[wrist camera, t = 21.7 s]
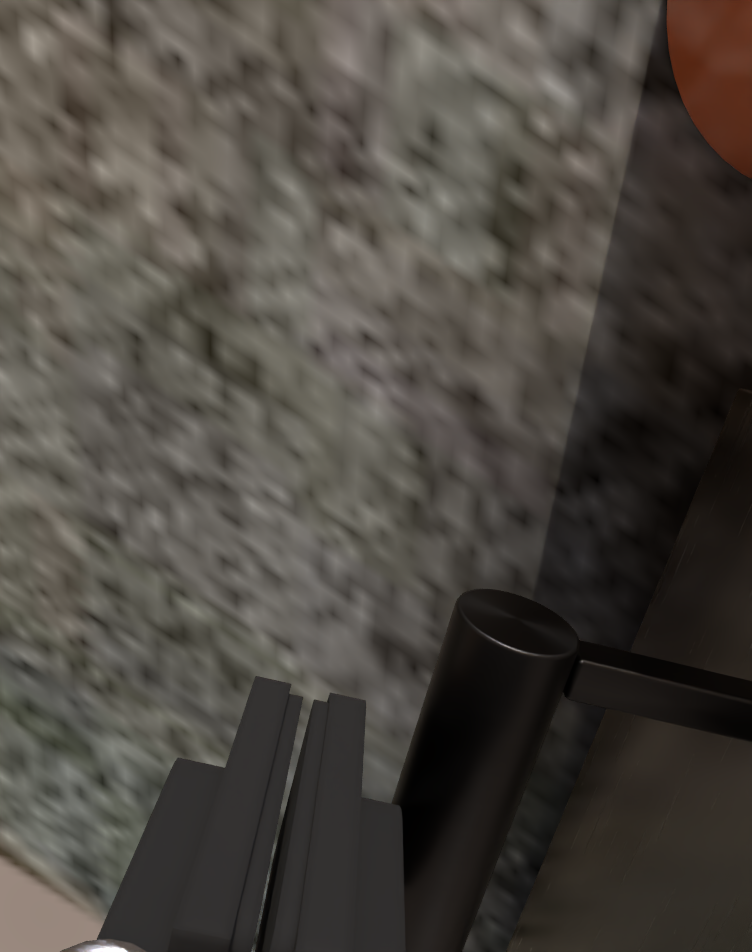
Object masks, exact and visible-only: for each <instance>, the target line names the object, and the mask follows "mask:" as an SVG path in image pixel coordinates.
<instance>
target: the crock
mask: <svg viewBox="0 0 752 952" xmlns="http://www.w3.org/2000/svg"><path fill="white" fill-rule="evenodd" d="M667 34H668V47H669V54H670V59H671V64H672V69H673V73H674V78H675V81H676V83H677V86H678V89H679V92H680V95H681V98H682V101H683V103H684V105H685V107H686V109H687V111H688V113H689V115H690V117H691V119H692V121H693V123H694V124H695V126H696V127H697V128H698V130H699V131H700V133H701V134H702V136H703V137H704V138H705V140H706V141H707V143H708V144H709V145H710V146H711V147H712V148H713V149H714V150H715V151H716V152H717V153H718V154H719V155H720V156H721V157H722V158H723V159H724V160H725V161H726V162H727V163H729V164H730V165H731V166H733V167H734V168H735V169H736V170H738V171H739V172H740V173H742V174H743V175H745V176H747V177H749V178H751V179H752V0H667Z"/></svg>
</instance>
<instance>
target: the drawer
mask: <svg viewBox="0 0 752 952" xmlns="http://www.w3.org/2000/svg"><path fill="white" fill-rule="evenodd" d="M562 692H563V694H564V696H565V697H566V698H567V699H569V700H573V701H577V702H581V703H585V704H590V705H594V706H598V707H603V708H606V711H605V713H604V716H603V718H602V721H601V723H600V725H599V728H598V730H597V733H596V735H595V737H594V740H593V742H592V745H591V747H590V750H589V752H588V754H587V757H586V759H585V762H584V764H583V767H582V769H581V771H580V774H579V776H578V779H577V781H576V783H575V786H574V788H573V791H572V793H571V796H570V798H569V800H568V803H567V805H566V808H565V810H564V812H563V815H562V817H561V820H560V822H559V825H558V827H557V829H556V832H555V834H554V837H553V839H552V842H551V844H550V846H549V849H548V851H547V854H546V856H545V858H544V861H543V863H542V866H541V868H540V871H539V873H538V875H537V878H536V880H535V883H534V885H533V887H532V890H531V892H530V895H529V897H528V900H527V902H526V904H525V907H524V909H523V912H522V914H521V917H520V919H519V921H518V924H517V926H516V929H515V931H514V933H513V936H512V938H511V941H510V943H509V946H508V948H507V950H506V952H752V391H751V390H747V389H743V388H742V389H739V390H738V392H737V394H736V396H735V399H734V401H733V404H732V406H731V408H730V411H729V413H728V416H727V418H726V421H725V423H724V425H723V428H722V430H721V433H720V435H719V438H718V440H717V442H716V445H715V447H714V450H713V452H712V454H711V457H710V459H709V462H708V464H707V467H706V469H705V471H704V474H703V476H702V479H701V481H700V483H699V486H698V488H697V491H696V493H695V496H694V498H693V500H692V503H691V505H690V508H689V510H688V513H687V515H686V517H685V520H684V522H683V525H682V527H681V529H680V532H679V534H678V537H677V539H676V542H675V544H674V546H673V549H672V551H671V554H670V556H669V558H668V561H667V563H666V566H665V568H664V571H663V573H662V575H661V578H660V580H659V583H658V585H657V587H656V590H655V592H654V595H653V597H652V600H651V602H650V604H649V607H648V609H647V612H646V614H645V617H644V619H643V621H642V624H641V626H640V629H639V631H638V633H637V636H636V638H635V641H634V643H633V646H632V648H631V650H630V652H628V651H624V650H619V649H615V648H611V647H607V646H603V645H599V644H594V643H590V642H586V641H582V640H579V638H578V636H577V634H576V632H575V630H574V629H573V628H572V627H571V626H570V625H569V624H568V623H567V622H566V621H565V620H564V619H563V618H562V617H560V616H559V615H557V614H556V613H555V612H553V611H551V610H550V609H548V608H546V607H545V606H543V605H541V604H539V603H537V602H534V601H532V600H530V599H527V598H525V597H522V596H519V595H516V594H512V593H509V592H504V591H499V590H492V589H475V590H470V591H467V592H465V593H463V594H462V595H461V596H460V597H459V598H458V599H457V601H456V603H455V606H454V610H453V613H452V616H451V619H450V622H449V625H448V628H447V632H446V635H445V638H444V641H443V644H442V647H441V650H440V653H439V657H438V660H437V663H436V666H435V669H434V672H433V675H432V678H431V682H430V685H429V688H428V691H427V694H426V697H425V700H424V703H423V707H422V710H421V713H420V716H419V719H418V722H417V725H416V728H415V732H414V735H413V738H412V741H411V744H410V747H409V750H408V753H407V757H406V760H405V763H404V766H403V769H402V772H401V775H400V778H399V782H398V785H397V788H396V791H395V794H394V797H393V800H392V804H394V805H399V806H400V808H401V810H402V826H403V866H404V907H405V948H406V952H462V950H463V947H464V945H465V942H466V940H467V937H468V935H469V932H470V929H471V927H472V924H473V922H474V919H475V917H476V914H477V911H478V909H479V906H480V904H481V901H482V898H483V896H484V893H485V891H486V888H487V886H488V883H489V880H490V878H491V875H492V873H493V870H494V868H495V865H496V862H497V860H498V857H499V855H500V852H501V850H502V847H503V844H504V842H505V839H506V837H507V834H508V831H509V829H510V826H511V824H512V821H513V819H514V816H515V813H516V811H517V808H518V806H519V803H520V801H521V798H522V795H523V793H524V790H525V788H526V785H527V782H528V780H529V777H530V775H531V772H532V770H533V767H534V764H535V762H536V759H537V757H538V754H539V752H540V749H541V746H542V744H543V741H544V739H545V736H546V733H547V731H548V728H549V726H550V723H551V721H552V718H553V715H554V713H555V710H556V708H557V705H558V703H559V700H560V697H561V695H562Z"/></svg>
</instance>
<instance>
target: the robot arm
mask: <svg viewBox="0 0 752 952" xmlns="http://www.w3.org/2000/svg"><path fill="white" fill-rule="evenodd" d="M290 687H291V684H289V683H285V682H280V681H276V680H272V679H267V678H263V677H258V676H256V677H255V680H254V682H253V685H252V689H251V692H250V695H249V698H248V701H247V704H246V707H245V710H244V713H243V716H242V719H241V722H240V725H239V728H238V731H237V734H236V737H235V740H234V743H233V746H232V749H231V752H230V755H229V758H228V761H227V764H226V767H225V768H223V767H219V766H214V765H209V764H205V763H200V762H195V761H191V760H186V759H182V758H177V760H176V761H175V763H174V765H173V767H172V769H171V771H170V773H169V776H168V778H167V780H166V782H165V785H164V787H163V789H162V792H161V794H160V796H159V798H158V801H157V803H156V805H155V808H154V810H153V812H152V814H151V817H150V819H149V821H148V824H147V826H146V828H145V830H144V833H143V835H142V837H141V840H140V842H139V844H138V846H137V849H136V851H135V853H134V855H133V858H132V860H131V862H130V865H129V867H128V869H127V871H126V874H125V876H124V878H123V881H122V883H121V885H120V887H119V890H118V892H117V894H116V897H115V899H114V901H113V903H112V906H111V908H110V910H109V913H108V915H107V917H106V919H105V922H104V924H103V926H102V929H101V931H100V933H99V935H98V938H97V940H93V941H86V942H83V943H80V944H77V945H75V946H72V947H70V948H67V949H64V950H62V951H60V952H251V949H252V945H253V940H254V936H255V932H256V927H257V922H258V918H259V913H260V908H261V903H262V898H263V893H264V888H265V883H266V878H267V873H268V868H269V863H270V858H271V853H272V849H273V844H274V839H275V834H276V829H277V824H278V819H279V814H280V809H281V804H282V799H283V794H284V789H285V784H286V779H287V774H288V769H289V764H290V759H291V754H292V750H293V745H294V740H295V735H296V730H297V725H298V720H299V715H300V710H301V705H302V700H303V697H301V696H296V695H292V694H289V691H290ZM365 716H366V701H365V700H361V699H356V698H352V697H347V696H343V695H338V694H334V693H330V695H329V698H328V701H327V702H323V701H319V700H314V702H313V705H312V709H311V713H310V717H309V721H308V725H307V728H306V732H305V736H304V740H303V744H302V748H301V752H300V756H299V760H298V763H297V767H296V771H295V775H294V779H293V783H292V787H291V791H290V795H289V799H288V802H287V806H286V810H285V814H284V818H283V822H282V826H281V830H280V834H279V837H278V842H277V846H276V850H275V854H274V859H273V864H272V868H271V874H270V879H269V884H268V889H267V894H266V899H265V904H264V909H263V914H262V919H261V924H260V929H259V935H258V940H257V945H256V950H255V952H406V948H405V907H404V866H403V826H402V810H401V808H400V806H399V805H394V804H389V803H385V802H380V801H376V800H371V799H366V798H362V797H361V792H362V773H363V754H364V735H365Z"/></svg>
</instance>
